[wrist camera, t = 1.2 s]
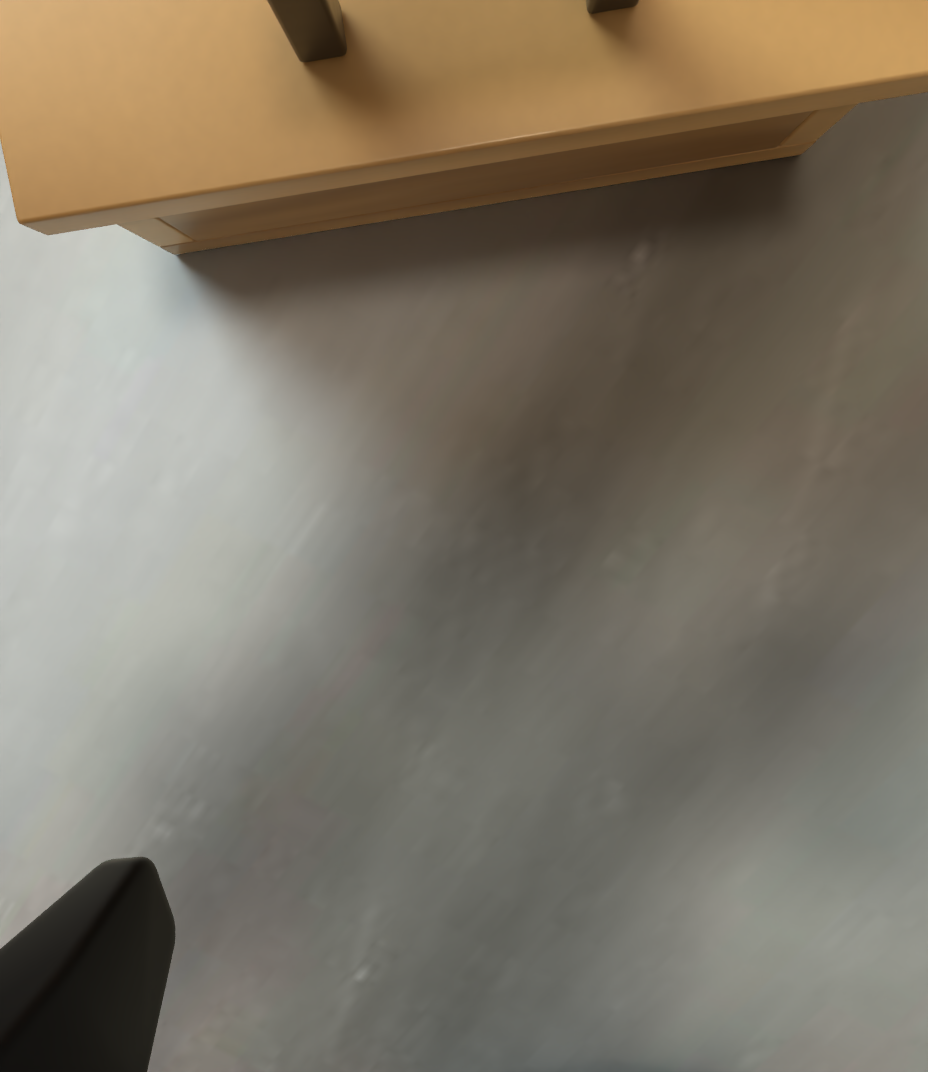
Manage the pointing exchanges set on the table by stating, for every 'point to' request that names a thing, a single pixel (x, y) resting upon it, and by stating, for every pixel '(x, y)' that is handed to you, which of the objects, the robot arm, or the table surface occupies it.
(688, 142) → the box
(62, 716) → the table surface
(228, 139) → the lid
